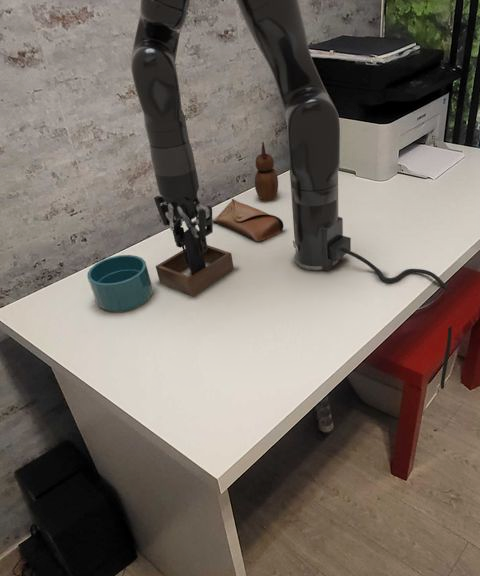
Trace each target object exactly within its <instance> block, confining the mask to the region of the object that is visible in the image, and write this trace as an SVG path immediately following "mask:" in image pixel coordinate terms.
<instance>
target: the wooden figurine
mask: <svg viewBox="0 0 480 576" xmlns="http://www.w3.org/2000/svg"><path fill="white" fill-rule="evenodd" d="M265 147H266V146H265V142H264V141H261V154H258V155H257V156H256V157H255V167H256V170H257V171H256V173H255V175H254V189H255V192H256V195H257V196H258V198H259V199H260V200H262V201H271V200H273V199H275V198H276V197H277V195H278V191H279V177H278V174H277V173H278V172H277V170H275V168H274V167H275V163H274V162H275V161H274V158H273V156H272V154H269V153H266V148H265Z"/></svg>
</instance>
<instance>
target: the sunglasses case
mask: <svg viewBox="0 0 480 576" xmlns="http://www.w3.org/2000/svg"><path fill="white" fill-rule="evenodd" d="M212 223H215V224H219V225H220V226H224V227H225V228H228V229H230V230H232V231H234V232H236V233H238V234H240V235H243V236H244V237H247V238H249V239H251V240H253V241H255V242H262V241H266V240H268V239H271V238H273V237H275V236H277V235H280V234H281V233H282V232H283V230H284V222H283V220H282V219H281V218H280V217H279V216H276V215H273V214H270V213H267V212H265V211H264V210H261V209H258V208H256V207H253V206H250V205H248V204H245V203H243V202H239V201H237V200H235V199H234V198H231V201H230V202H229V203H228V204H227V205H226V207H224V209H223V210H222V211H221V212H220V213H219V214H218V215H217V217H216V218H214V219H212Z"/></svg>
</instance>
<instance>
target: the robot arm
mask: <svg viewBox="0 0 480 576" xmlns="http://www.w3.org/2000/svg"><path fill="white" fill-rule="evenodd" d="M235 1H236V3H237V6H238V8H239V11H240V13H241V16H242V18H243V20H244V22H245V25H246V27H247V29H248V31H249V33H250V35H251V36H252V38H253V41H254V42H255V44H256V46H257V48H258V50H259V51H260V53H261V54H262V56H263V58H264V59H265V61H266V63H267V64H268V67H269V68H270V71H271V73H272V76H273V78H274V81H275V84H276V87H277V90H278V94H279V97H280V100H281V104H282V109H283V112H284V117H285V122H286V128H287V144H288V154H289V156H288V157H289V179H290V193H291V195H290V196H291V207H292V208H291V210H292V220H293V221H292V224H293V237H294V240H292V243H293V248H294V249H295V250H294V251H295V256H294V257H295V259H294V260H295V263H296V264H297V266H298V267H300V268H301V269H304V270H309V271H325V272H329V270H331V269H332V268H333V267H335V266H336V265H337V264H338V263H340V262H341V261H342V260H343V259H344V256H346V255H349V256H352V258H353V257H354V258H355V259H357V260H359V261H360V262H362V263H364V264H365V265H366V266H368V267H369V268H370V269H372V270H373V271H374V272H376V273H377V275H378V277H379V278H380V280H382V281H383V282H385V283H394V282H397V281H399V280H400V279H402V278H403V277H404V276H405V275H407V274H413V273H414V274H423V275H427V276H429V277H431V278H432V279H434V280H435V281H436V282H437V283H438V284H439V286H440V287H441V288H442V289H443V290H445V291H446V290H448V286H447V285H446V284H445V282H444V281H443V279H442V278H440V277H439V276H438V275H436V273H434V272H432V271H430V270H427V269H423V268H422V269H421V268H407V269H405V270H402V272H400V273H399V274H397V275H396V276H394V277H386V276H385V275H384V274H383V273H382V271H381V270H380V269H379V268H378V267H377V266H376V265H374V264H373V263H372V262H370V261H369V260H368V259H366V258H365V257H363V256H361V255H359V254H357V253H356V252H354V251H351V249H352V248H351V245H352V243H351V237H349V236H346V235H344V219H343V217H341V216H339V171H340V164H341V124H340V123H341V122H340V116H339V113H338V110H337V108H336V105H335V104H334V102H333V100H332V98H331V96H330V95H329V93H328V91H327V89H326V87H325V85H324V83H323V81H322V79H321V76H320V74H319V72H318V69H317V67H316V65H315V63H314V60H313V58H312V54H311V51H310V47H309V44H308V39H307V34H306V33H307V32H306V27H305V23H304V18H303V13H302V9H301V6H300V2H299V0H235ZM189 5H190V0H140V6H139V7H140V8H139V9H140V10H139V11H140V12H139V19H138V21H137V22H138V23H137V27H136V31H135V36H134V41H133V47H132V51H131V58H130V69H131V70H130V71H131V75H132V76H131V77H132V80H133V84H134V87H135V91H136V94H137V98H138V102H139V104H140V107H141V110H142V114H143V121H144V128H145V132H146V136H147V140H148V144H149V151H150V159H151V162H152V168H153V172H154V176H155V180H156V185H157V190H158V192H159V194H158V195H156V196H155V197H153V200H154V203H155V205H156V208H157V211H158V213H159V216H160V219H161V222H162V224H163V225H164V227H167V226H168V227H169V230H170V231H172V235H173V239H174V242H175V246H176V247H177V248H182V246H181V244H180V243H179V242H178V239H177V235H180V236H183V234H184V232H185V228H184V227H183V222H184V223H185V226H186V228H187V229H188V228H190V229H191V231H192V233H193V236H194V237H195V238H194V241H195V246H196V251H197V254H199V255H202V254H203V253H205V252H206V251H207V249H208V247H207V245H208V242H207V237H208V236H209V235H211V234H213V232H214V226H213V207H212V206H211V205H210V204H209V205H206V206H204V205H203V204H201V201H200V200H199V198H198V191H199V190H200V184H199V177H198V172H197V167H196V162H195V157H194V151H193V148H192V145H191V141H190V137H189V132H188V131H189V130H188V127H187V122H186V117H185V114H184V111H183V108H182V99H181V92H180V84H179V79H178V78H179V77H178V71H177V67H176V60H177V59H176V58H177V52H178V46H179V42H180V41H179V40H180V37H181V31H182V29H183V28H184V25H185V23H186V19H187V15H188V11H189ZM166 214H167V215H166ZM194 219H195V220H194ZM190 220H193V221H192V222H191V221H190ZM197 227H198V229H197ZM197 230H198V231H197ZM452 335H453V325H450V326H449V327H448V328H447V339H446V346H445V354H444V359H443V366H442V371H441V377H440V378H441V379H440V390H441V389H442V390H444V389H445V382H446V376H447V369H448V364H449V358H450V352H451V345H452Z"/></svg>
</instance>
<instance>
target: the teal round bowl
mask: <svg viewBox="0 0 480 576" xmlns="http://www.w3.org/2000/svg"><path fill="white" fill-rule="evenodd" d="M87 280H88V283H89V286H90V288H91V291H92V294H93V296H94V297H93V298H94V299H95V302H96V304H97V305H98V307H99V308H101V309H103V310H106V311H109V312H115V313H117V312H118V313H119V312H120V313H121V312H127V311H130V310H133V309H136V308H138V307H140V306H142V305H144V304H145V303H146V302H148V301H149V299H150V298H151V297H152V295H153V293H154V288H153V284H152V280H151V276H150V273H149V269H148V266H147V262H146V261H145V259H144V258H143V257H140V256H138V255H132V254H121V255H115V256H111V257H108V258H105V259H102V260H100V261H98V262H97V263H94V265H93V266H92V267H90V269H89V270H88V271H87Z"/></svg>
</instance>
